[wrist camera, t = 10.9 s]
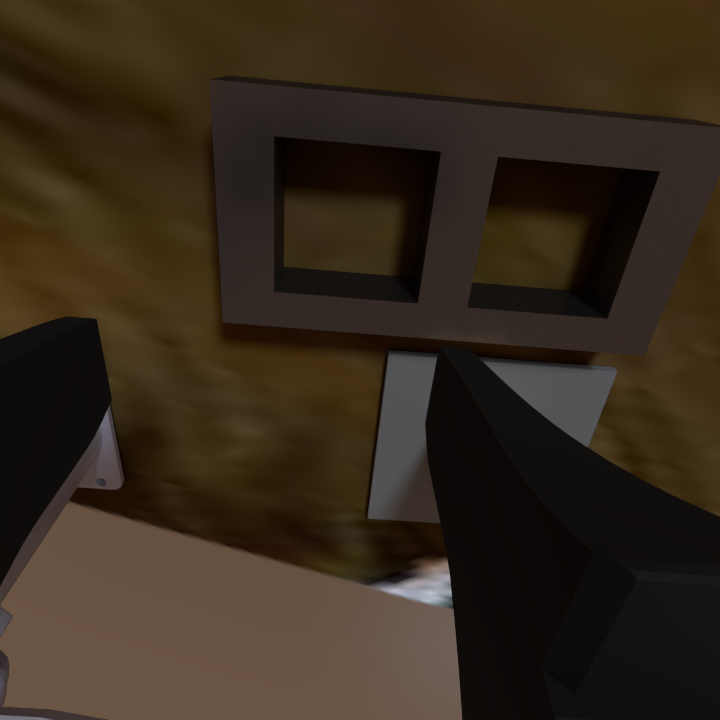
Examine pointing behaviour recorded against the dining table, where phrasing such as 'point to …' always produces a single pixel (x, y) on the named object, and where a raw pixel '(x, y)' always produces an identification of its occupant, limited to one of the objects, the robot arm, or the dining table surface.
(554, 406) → the mat
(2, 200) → the dining table surface
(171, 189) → the dining table surface
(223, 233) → the double cubby frame
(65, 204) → the dining table surface
